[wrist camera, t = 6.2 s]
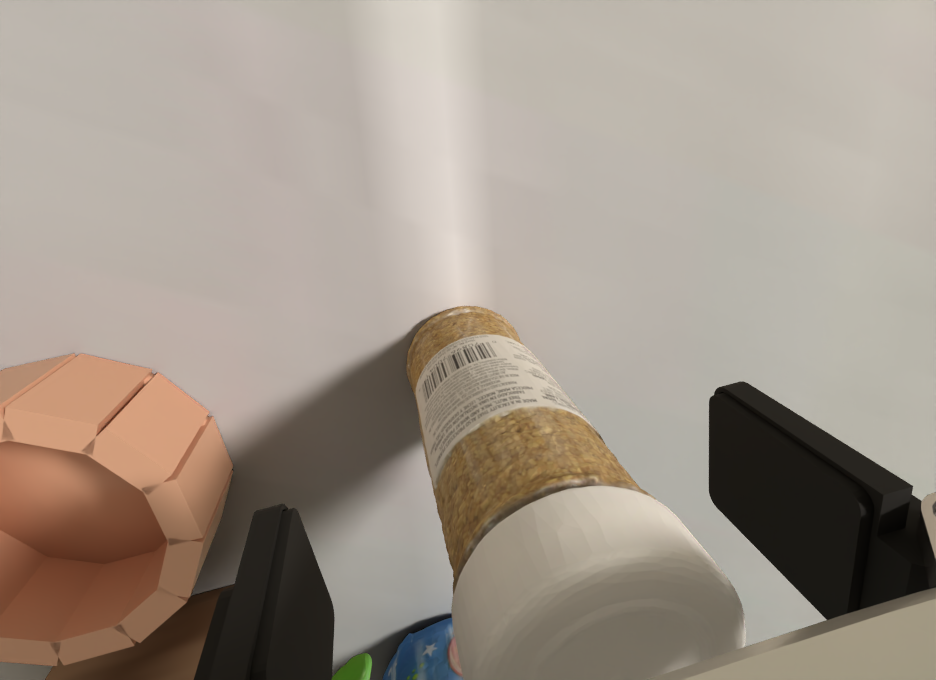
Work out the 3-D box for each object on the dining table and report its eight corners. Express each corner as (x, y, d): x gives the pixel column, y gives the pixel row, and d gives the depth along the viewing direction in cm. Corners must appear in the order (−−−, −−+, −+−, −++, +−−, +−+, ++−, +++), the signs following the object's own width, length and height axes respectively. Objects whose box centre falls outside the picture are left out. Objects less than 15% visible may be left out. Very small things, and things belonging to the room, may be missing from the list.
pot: (178, 330, 18) (129, 377, 14) (261, 535, 21) (239, 616, 18) (-107, 393, 17) (-238, 460, 13) (26, 597, 20) (-49, 696, 17)
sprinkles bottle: (425, 426, 21) (511, 829, 9) (389, 323, 19) (431, 636, 7) (533, 390, 21) (767, 727, 9) (507, 285, 20) (750, 519, 7)
